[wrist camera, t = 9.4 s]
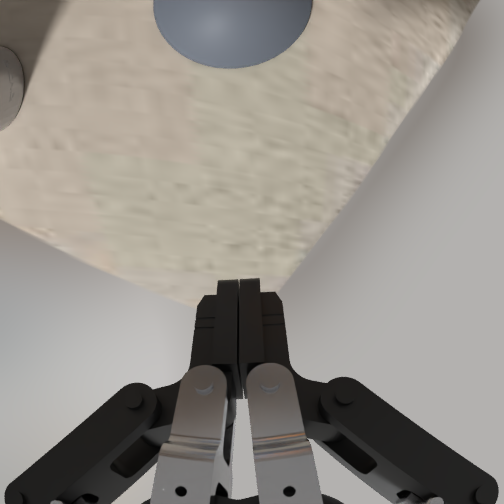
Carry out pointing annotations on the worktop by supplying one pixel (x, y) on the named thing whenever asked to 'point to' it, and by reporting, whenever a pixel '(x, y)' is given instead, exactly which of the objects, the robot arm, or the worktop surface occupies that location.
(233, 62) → the disc
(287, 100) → the worktop surface
